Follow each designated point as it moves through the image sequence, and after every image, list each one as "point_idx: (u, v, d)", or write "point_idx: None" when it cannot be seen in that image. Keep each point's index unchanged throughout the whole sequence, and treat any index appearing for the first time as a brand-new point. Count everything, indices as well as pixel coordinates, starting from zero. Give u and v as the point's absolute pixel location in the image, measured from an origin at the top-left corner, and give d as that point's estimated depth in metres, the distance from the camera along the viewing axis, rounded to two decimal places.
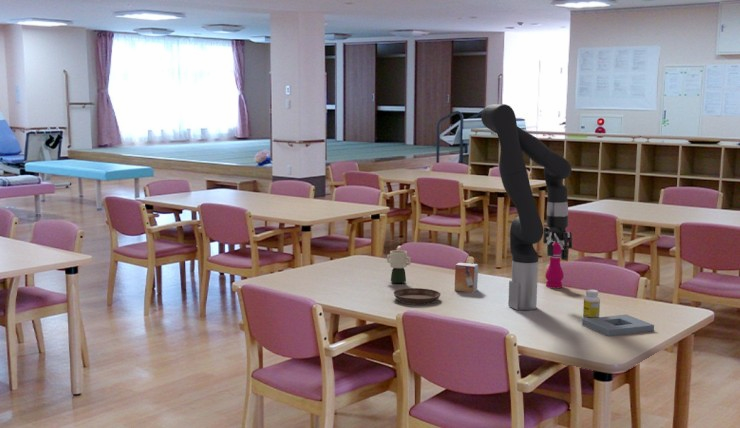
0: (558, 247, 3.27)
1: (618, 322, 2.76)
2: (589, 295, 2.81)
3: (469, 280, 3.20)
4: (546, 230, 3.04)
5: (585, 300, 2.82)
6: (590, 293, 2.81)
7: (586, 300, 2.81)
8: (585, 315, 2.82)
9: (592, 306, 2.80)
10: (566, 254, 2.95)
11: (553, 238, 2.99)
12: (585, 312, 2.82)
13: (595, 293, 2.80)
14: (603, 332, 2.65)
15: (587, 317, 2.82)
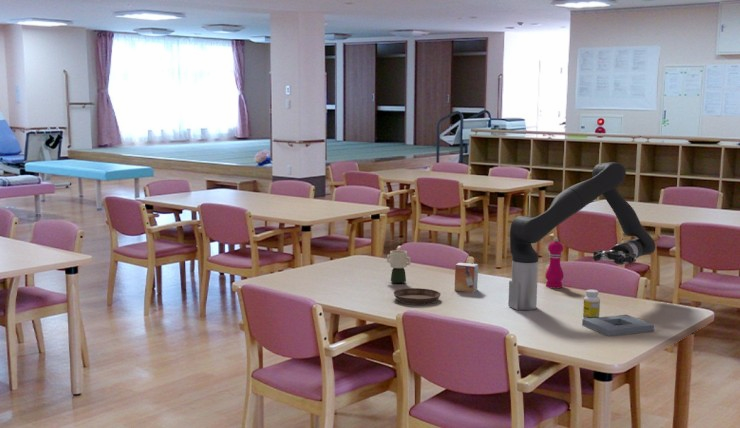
0: (558, 247, 3.27)
1: (618, 322, 2.76)
2: (589, 295, 2.81)
3: (469, 280, 3.20)
4: (602, 251, 3.00)
5: (585, 300, 2.82)
6: (590, 293, 2.81)
7: (586, 300, 2.81)
8: (585, 315, 2.82)
9: (592, 306, 2.80)
10: (623, 261, 2.88)
11: (612, 253, 2.96)
12: (585, 312, 2.82)
13: (595, 293, 2.80)
14: (603, 332, 2.65)
15: (587, 317, 2.82)
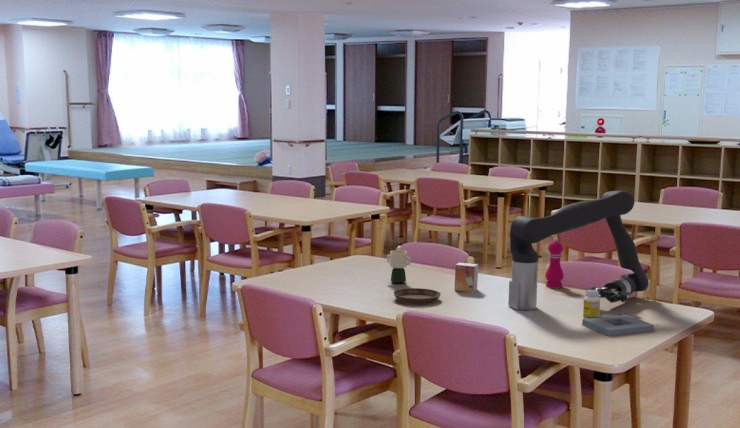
0: (558, 247, 3.27)
1: (618, 322, 2.76)
2: (589, 295, 2.81)
3: (469, 280, 3.20)
4: (594, 288, 2.98)
5: (585, 300, 2.82)
6: (590, 293, 2.81)
7: (586, 300, 2.81)
8: (585, 315, 2.82)
9: (592, 306, 2.80)
10: (616, 299, 2.86)
11: (605, 291, 2.94)
12: (585, 312, 2.82)
13: (595, 293, 2.80)
14: (603, 332, 2.65)
15: (587, 317, 2.82)
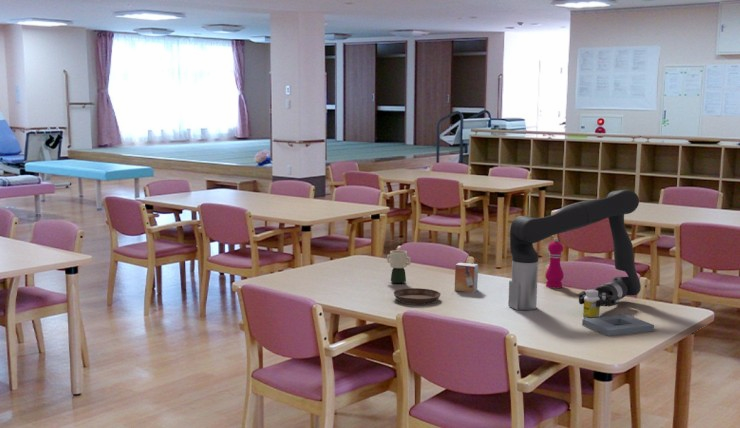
0: (558, 247, 3.27)
1: (618, 322, 2.76)
2: (589, 295, 2.81)
3: (469, 280, 3.20)
4: None
5: (585, 300, 2.82)
6: (590, 293, 2.81)
7: (586, 300, 2.81)
8: (585, 315, 2.82)
9: (592, 306, 2.80)
10: (602, 304, 2.80)
11: None
12: (585, 312, 2.82)
13: (595, 293, 2.80)
14: (603, 332, 2.65)
15: (587, 317, 2.82)
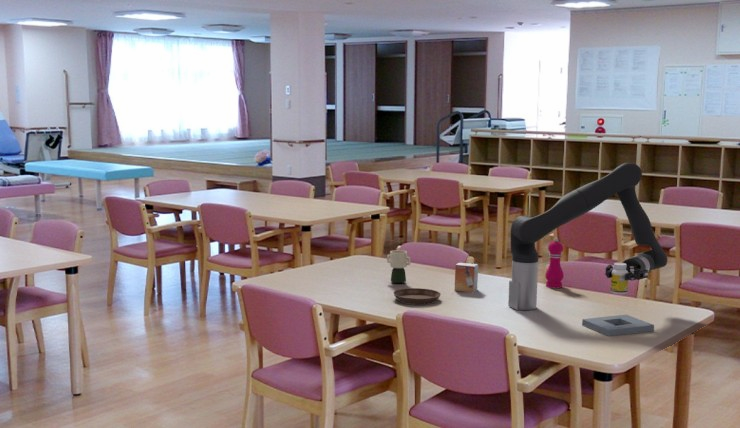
0: (558, 247, 3.27)
1: (618, 322, 2.76)
2: (617, 268, 2.69)
3: (469, 280, 3.20)
4: None
5: (613, 273, 2.69)
6: (618, 266, 2.68)
7: (614, 273, 2.69)
8: (613, 290, 2.70)
9: (620, 280, 2.68)
10: (631, 277, 2.68)
11: None
12: (613, 286, 2.70)
13: (623, 266, 2.68)
14: (603, 332, 2.65)
15: (615, 291, 2.69)
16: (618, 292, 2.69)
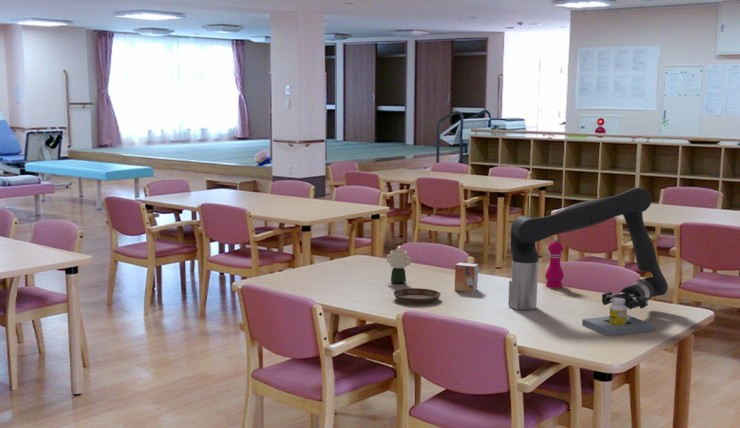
0: (558, 247, 3.27)
1: None
2: (616, 303, 2.70)
3: (469, 280, 3.20)
4: None
5: (611, 309, 2.70)
6: (617, 301, 2.69)
7: (613, 309, 2.70)
8: None
9: (618, 315, 2.69)
10: (634, 305, 2.68)
11: (622, 296, 2.75)
12: (611, 321, 2.71)
13: (622, 301, 2.69)
14: (603, 332, 2.65)
15: None
16: None
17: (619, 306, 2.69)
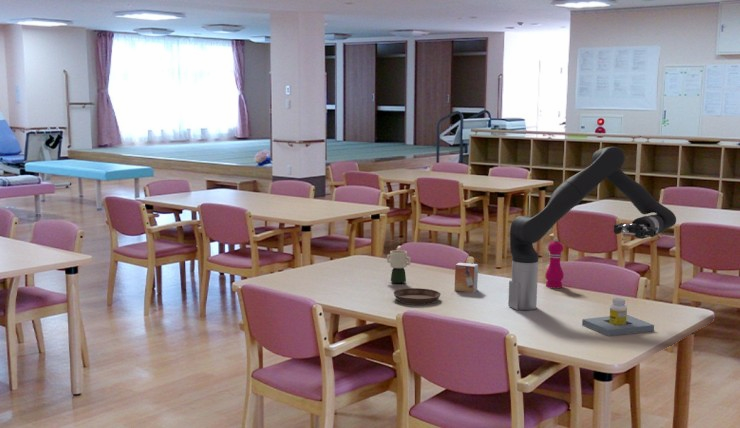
0: (558, 247, 3.27)
1: None
2: (616, 303, 2.70)
3: (469, 280, 3.20)
4: (622, 225, 2.93)
5: (611, 309, 2.70)
6: (617, 301, 2.69)
7: (613, 309, 2.70)
8: None
9: (618, 315, 2.69)
10: (645, 234, 2.80)
11: (633, 226, 2.88)
12: (611, 321, 2.71)
13: (622, 301, 2.69)
14: (603, 332, 2.65)
15: None
16: None
17: (619, 306, 2.69)
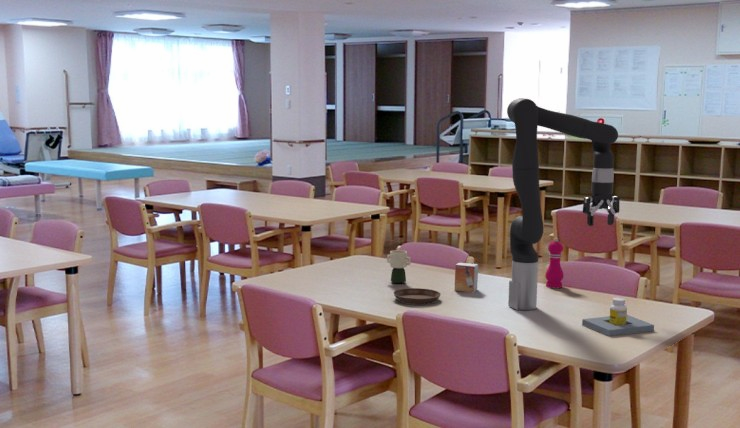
0: (558, 247, 3.27)
1: None
2: (616, 303, 2.70)
3: (469, 280, 3.20)
4: None
5: (611, 309, 2.70)
6: (617, 301, 2.69)
7: (613, 309, 2.70)
8: None
9: (618, 315, 2.69)
10: None
11: (601, 206, 2.93)
12: (611, 321, 2.71)
13: (622, 301, 2.69)
14: (603, 332, 2.65)
15: None
16: None
17: (619, 306, 2.69)
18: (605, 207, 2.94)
